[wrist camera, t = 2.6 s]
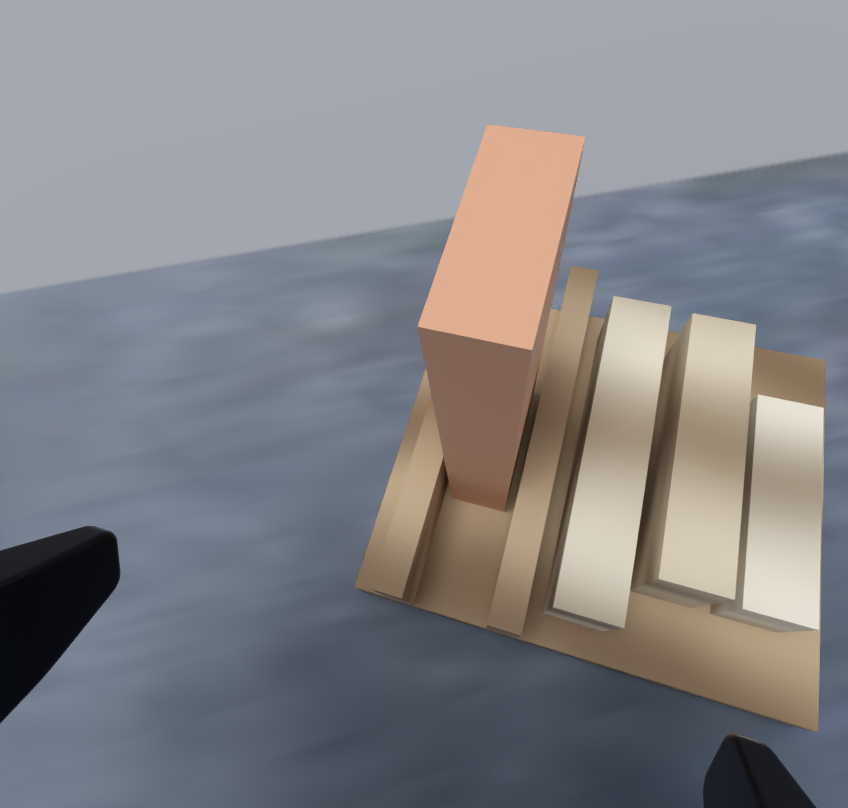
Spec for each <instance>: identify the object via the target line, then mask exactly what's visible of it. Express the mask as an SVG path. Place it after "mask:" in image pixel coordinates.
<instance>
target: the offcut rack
mask: <svg viewBox="0 0 848 808" xmlns="http://www.w3.org/2000/svg"><path fill="white" fill-rule="evenodd" d="M598 271H599V270H593V269H587V268H582V267H576V266H571V269H570V273H569V278H568V282H567V286H566V291H565V295H564V299H563V303H562V308H561V311H560V310H555V309H551V310H550V315H549V320H548V325H547V330H546V334H545V339H544V344H543V349H542V354H541V359H540V364H539V369H538V374H537V379H536V384H535V389H534V393H533V398H532V402H531V406H530V410H529V414H528V418H527V423H526V427H525V431H524V435H523V439H522V443H521V447H520V452H519V456H518V460H517V464H516V468H515V472H514V477H513V481H512V485H511V489H510V493H509V497H508V502H507V506H506V510H505V512H502V511H498V510H494V509H490V508H487V507H483V506H479V505H475V504H472V503H468V502H464V501H460V500H457V499H453V498H452V495H451V490H450V485H449V480H448V476H447V471H446V466H445V461H444V456H443V451H442V446H441V441H440V436H439V431H438V426H437V421H436V416H435V411H434V406H433V401H432V396H431V391H430V386H429V381H428V376H427V371H426V370H425V373H424V376H423V379H422V382H421V385H420V388H419V391H418V394H417V397H416V400H415V403H414V406H413V409H412V412H411V415H410V418H409V422H408V425H407V428H406V431H405V434H404V437H403V440H402V443H401V446H400V449H399V452H398V455H397V458H396V461H395V464H394V467H393V470H392V473H391V476H390V479H389V483H388V486H387V489H386V492H385V495H384V498H383V501H382V504H381V507H380V510H379V513H378V516H377V519H376V522H375V525H374V528H373V531H372V534H371V537H370V540H369V544H368V547H367V550H366V553H365V556H364V559H363V562H362V565H361V568H360V571H359V574H358V577H357V580H356V583H355V586H354V587H355V588H357V589H359V590H361V591H364V592H367V593H370V594H374V595H377V596H380V597H383V598H386V599H390V600H393V601H396V602H399V603H402V604H405V605H409V606H412V607H415V608H418V609H421V610H425V611H428V612H431V613H434V614H437V615H441V616H444V617H447V618H450V619H453V620H457V621H460V622H463V623H466V624H469V625H473V626H476V627H479V628H482V629H485V630H488V631H492V632H495V633H498V634H501V635H504V636H508V637H511V638H514V639H517V640H520V641H524V642H527V643H530V644H533V645H536V646H540V647H543V648H546V649H549V650H552V651H555V652H559V653H562V654H565V655H568V656H571V657H575V658H578V659H581V660H584V661H587V662H591V663H594V664H597V665H600V666H603V667H607V668H610V669H613V670H616V671H619V672H622V673H626V674H629V675H632V676H635V677H638V678H642V679H645V680H648V681H651V682H654V683H658V684H661V685H664V686H667V687H670V688H674V689H677V690H680V691H683V692H686V693H690V694H693V695H696V696H699V697H702V698H705V699H709V700H712V701H715V702H718V703H721V704H725V705H728V706H731V707H734V708H737V709H741V710H744V711H747V712H750V713H753V714H757V715H760V716H763V717H766V718H769V719H772V720H776V721H779V722H782V723H785V724H788V725H792V726H795V727H799V728H803V729H807V730H811V731H815V732H818V716H819V667H820V619H821V570H822V521H823V472H824V423H825V374H826V361H825V360H820V359H815V358H809V357H804V356H799V355H794V354H788V353H783V352H778V351H772V350H767V349H762V348H756V347H754V344H755V331H756V325H754V324H749V323H743V322H738V321H732V320H727V319H721V318H716V317H710V316H704V315H699V314H692V315H691V317H690V318H689V320H688V322H687V323H686V325H685V326H684V328H683V330H682V331H681V333H677V332H672V331H668V326H669V319H670V313H671V306H667V305H661V304H656V303H650V302H645V301H639V300H634V299H628V298H623V297H617V296H613V299H612V301H611V304H610V307H609V309H608V312H607V315H606V318H605V319H603V318H597V317H592V316H589V313H590V308H591V304H592V299H593V294H594V289H595V285H596V280H597V275H598Z"/></svg>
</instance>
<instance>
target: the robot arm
mask: <svg viewBox="0 0 848 808" xmlns="http://www.w3.org/2000/svg"><path fill="white" fill-rule="evenodd" d="M119 579H120V563H119V553H118V544H117V538H116V536H115V535H114V533H112V532H110V531H107V530H104V529H101V528H98V527H95V526H85V527H81V528H78V529H74V530H71V531H67V532H64V533H60V534H57V535H53V536H50V537H46V538H43V539H39V540H36V541H32V542H29V543H25V544H22V545H18V546H15V547H11V548H8V549H4V550H0V723H1V722H2V721H3V720H4V719H5V718H6V717H7V716H8V715H9V714H10V713H11V712H12V710H13V709H14V708H15V707H16V706H17V705H18V704H19V703H20V702H21V701H22V700H23V699H24V698H25V697H26V696H27V695H28V694H29V693H30V691H31V690H32V689H33V688H34V687H35V686H36V685H37V684H38V683H39V682H40V681H41V679H42V678H43V677H44V676H45V675H46V674H47V673H48V671H49V670H50V669H51V668H52V667H53V665H54V664H55V663H56V662H57V661H58V659H59V658H60V657H61V656H62V654H63V653H64V652H65V651H66V649H67V648H68V647H69V646H70V644H71V643H72V642H73V641H74V639H75V638H76V637H77V636H78V634H79V633H80V632H81V631H82V629H83V628H84V627H85V626H86V625H87V623H88V622H89V621H90V620H91V618H92V617H93V616H94V615H95V613H96V612H97V611H98V610H99V608H100V607H101V606H102V605H103V603H104V602H105V601H106V600H107V598H108V597H109V596H110V595H111V593H112V592H113V591H114V589H115V588H116V586H117V584H118V582H119ZM703 801H704V808H816V806H815V805H814V804H813V803H812V801H811V800H810V799H809V797H808V796H807V795H806V794H805V792H804V791H803V790H802V788H801V787H800V786H799V785H798V783H797V782H796V781H795V779H794V778H793V777H792V776H791V774H790V773H789V772H788V770H787V769H786V768H785V766H784V765H783V764H782V763H781V761H780V760H779V759H778V757H777V756H776V755H775V754H774V752H773V751H772V750H771V749H770V748H769V747H768V746H767V745H766V744H764V743H762V742H760V741H757V740H754V739H751V738H748V737H745V736H741V735H738V734H735V733H731V734H728V735H727V736H726V737H725V738H724V740H723V742H722V744H721V746H720V747H719V749H718V751H717V753H716V755H715V757H714V759H713V761H712V763H711V765H710V767H709V769H708V771H707V773H706V776H705V780H704V786H703Z"/></svg>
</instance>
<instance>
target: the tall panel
mask: <svg viewBox="0 0 848 808" xmlns="http://www.w3.org/2000/svg"><path fill="white" fill-rule="evenodd" d="M584 142H585V136H577V135H569V134H561V133H553V132H545V131H537V130H529V129H521V128H512V127H505V126H497V125H489V124H488V125H487V127H486V131H485V133H484V136H483V139H482V142H481V145H480V148H479V151H478V154H477V156H476V160H475V162H474V165H473V168H472V171H471V174H470V177H469V179H468V182H467V185H466V188H465V191H464V194H463V197H462V200H461V203H460V206H459V208H458V211H457V214H456V217H455V220H454V223H453V226H452V229H451V232H450V234H449V237H448V240H447V243H446V246H445V249H444V252H443V255H442V258H441V260H440V263H439V266H438V269H437V272H436V275H435V278H434V281H433V284H432V287H431V289H430V292H429V295H428V298H427V301H426V304H425V307H424V310H423V313H422V316H421V318H420V321H419V324H418V331H419V336H420V341H421V346H422V351H423V356H424V361H425V366H426V371H427V376H428V381H429V386H430V391H431V396H432V401H433V406H434V411H435V416H436V421H437V426H438V431H439V436H440V441H441V446H442V451H443V456H444V461H445V466H446V471H447V476H448V480H449V485H450V490H451V495H452V498H453V499H457V500H460V501H464V502H468V503H472V504H475V505H479V506H483V507H487V508H490V509H494V510H498V511H502V512H505V510H506V506H507V502H508V497H509V493H510V489H511V485H512V481H513V477H514V472H515V468H516V464H517V460H518V456H519V452H520V447H521V443H522V439H523V435H524V431H525V427H526V423H527V418H528V414H529V410H530V406H531V402H532V398H533V393H534V389H535V384H536V379H537V374H538V369H539V364H540V359H541V354H542V349H543V344H544V339H545V334H546V330H547V325H548V320H549V315H550V310H551V305H552V300H553V295H554V290H555V285H556V280H557V275H558V270H559V265H560V260H561V256H562V251H563V246H564V241H565V236H566V231H567V226H568V221H569V216H570V211H571V206H572V201H573V196H574V191H575V186H576V182H577V177H578V172H579V167H580V162H581V157H582V152H583V147H584Z"/></svg>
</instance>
